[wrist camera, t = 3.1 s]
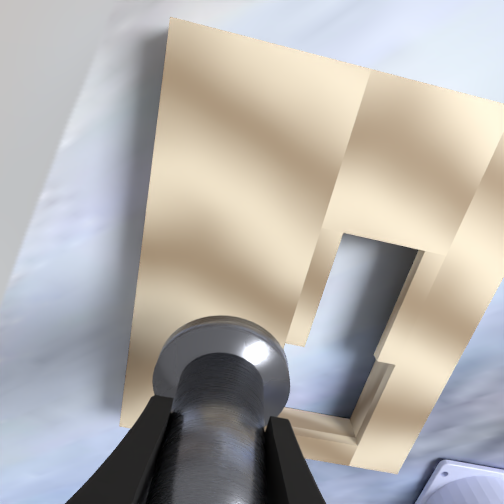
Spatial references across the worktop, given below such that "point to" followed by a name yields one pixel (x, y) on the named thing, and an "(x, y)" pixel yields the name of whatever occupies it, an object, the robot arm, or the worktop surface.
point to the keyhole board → (317, 219)
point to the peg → (217, 411)
